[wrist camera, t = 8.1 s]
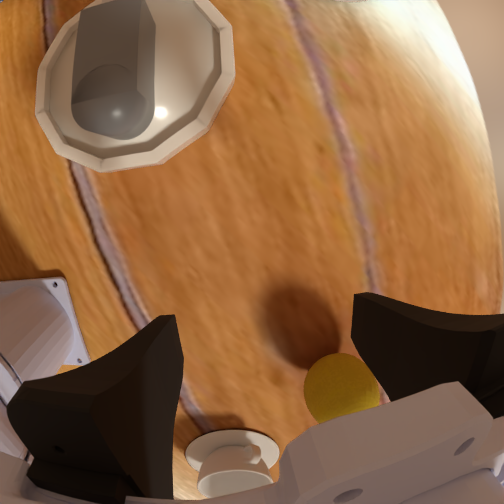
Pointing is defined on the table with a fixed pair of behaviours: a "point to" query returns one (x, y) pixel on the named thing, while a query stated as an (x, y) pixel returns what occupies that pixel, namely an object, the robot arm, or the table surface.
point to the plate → (165, 83)
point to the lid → (351, 0)
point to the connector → (114, 69)
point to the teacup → (231, 461)
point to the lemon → (339, 387)
